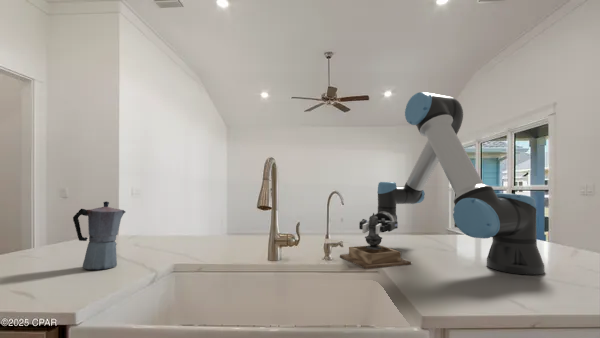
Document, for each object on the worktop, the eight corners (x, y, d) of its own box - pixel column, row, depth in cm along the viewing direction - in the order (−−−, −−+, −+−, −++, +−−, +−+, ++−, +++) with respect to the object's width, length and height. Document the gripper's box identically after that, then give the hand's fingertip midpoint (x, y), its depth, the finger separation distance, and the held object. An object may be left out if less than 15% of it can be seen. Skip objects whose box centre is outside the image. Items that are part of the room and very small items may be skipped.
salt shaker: (382, 250, 108) (382, 214, 108) (364, 249, 109) (364, 213, 110) (381, 246, 114) (382, 212, 114) (364, 245, 115) (364, 211, 115)
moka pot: (132, 263, 104) (134, 200, 105) (83, 276, 90) (85, 203, 91) (112, 260, 108) (114, 200, 109) (62, 271, 94) (65, 202, 95)
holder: (411, 264, 106) (410, 252, 106) (366, 268, 100) (366, 256, 100) (380, 253, 122) (380, 243, 122) (340, 257, 116) (340, 246, 116)
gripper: (404, 232, 125) (396, 243, 103) (361, 229, 131) (345, 238, 110) (404, 213, 125) (396, 219, 103) (361, 211, 132) (345, 216, 110)
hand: (370, 229), depth 107 cm, fingers closed on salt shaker, 4 cm apart
